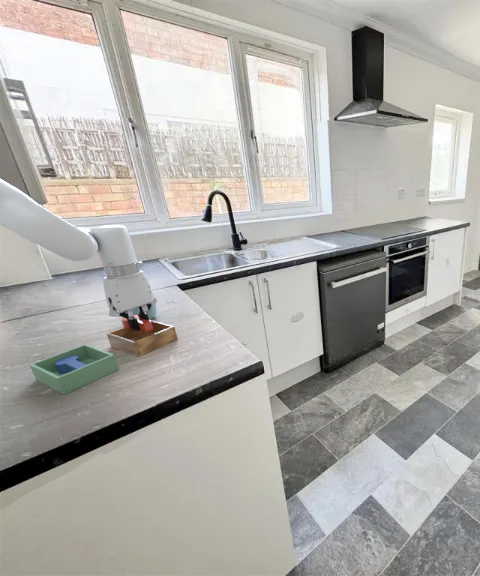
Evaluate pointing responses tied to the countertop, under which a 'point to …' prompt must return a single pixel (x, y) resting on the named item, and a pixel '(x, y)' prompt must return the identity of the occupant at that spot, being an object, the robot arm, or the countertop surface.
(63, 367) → the blue block
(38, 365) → the sage bin
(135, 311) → the cup
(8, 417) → the countertop surface
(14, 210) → the robot arm
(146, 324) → the red t-shaped block
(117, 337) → the oak bin
